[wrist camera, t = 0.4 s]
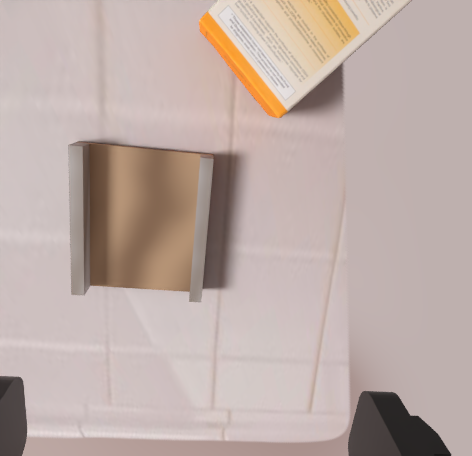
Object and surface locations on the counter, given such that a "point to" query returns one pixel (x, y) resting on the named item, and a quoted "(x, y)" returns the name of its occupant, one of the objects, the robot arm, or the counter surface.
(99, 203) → the track
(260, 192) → the counter surface
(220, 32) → the supplement box
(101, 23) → the counter surface
